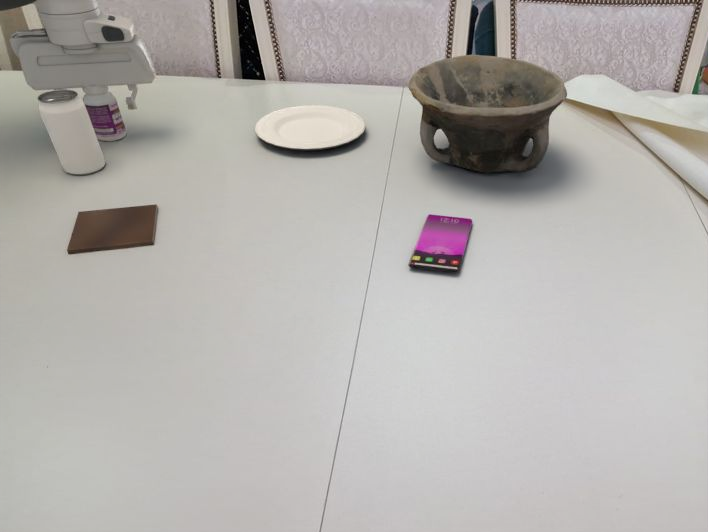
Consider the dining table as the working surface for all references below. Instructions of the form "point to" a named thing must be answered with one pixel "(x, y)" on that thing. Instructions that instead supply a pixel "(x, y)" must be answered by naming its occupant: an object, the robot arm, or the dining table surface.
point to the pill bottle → (104, 113)
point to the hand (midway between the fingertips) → (105, 110)
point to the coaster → (113, 228)
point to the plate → (310, 127)
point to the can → (71, 132)
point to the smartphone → (441, 243)
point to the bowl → (487, 111)
